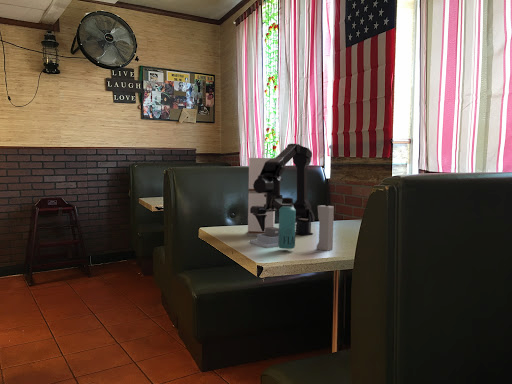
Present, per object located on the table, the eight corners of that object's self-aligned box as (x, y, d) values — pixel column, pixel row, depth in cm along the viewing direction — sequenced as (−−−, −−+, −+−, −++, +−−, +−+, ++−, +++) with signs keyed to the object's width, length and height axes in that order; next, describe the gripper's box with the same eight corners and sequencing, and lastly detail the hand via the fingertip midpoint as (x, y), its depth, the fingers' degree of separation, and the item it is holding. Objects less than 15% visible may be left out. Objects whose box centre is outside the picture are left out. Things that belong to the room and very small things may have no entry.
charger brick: (272, 238, 163) (272, 226, 163) (280, 240, 159) (280, 228, 159) (264, 239, 161) (265, 227, 161) (272, 241, 157) (272, 229, 157)
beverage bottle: (281, 253, 143) (282, 198, 141) (275, 249, 149) (276, 196, 148) (297, 252, 144) (299, 198, 143) (291, 248, 151) (292, 196, 149)
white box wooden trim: (274, 232, 187) (275, 158, 184) (273, 236, 176) (274, 158, 174) (250, 231, 188) (251, 158, 185) (247, 235, 177) (249, 157, 175)
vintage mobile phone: (321, 247, 154) (323, 183, 152) (332, 249, 151) (334, 184, 149) (316, 249, 151) (318, 184, 149) (327, 251, 148) (329, 184, 146)
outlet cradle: (276, 239, 169) (276, 231, 169) (294, 244, 159) (295, 235, 159) (249, 242, 161) (249, 234, 161) (267, 247, 151) (267, 238, 151)
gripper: (266, 194, 147) (265, 235, 148) (303, 192, 158) (302, 231, 159) (249, 192, 156) (249, 231, 157) (286, 191, 167) (285, 227, 168)
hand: (272, 230), depth 160 cm, fingers open, 9 cm apart
